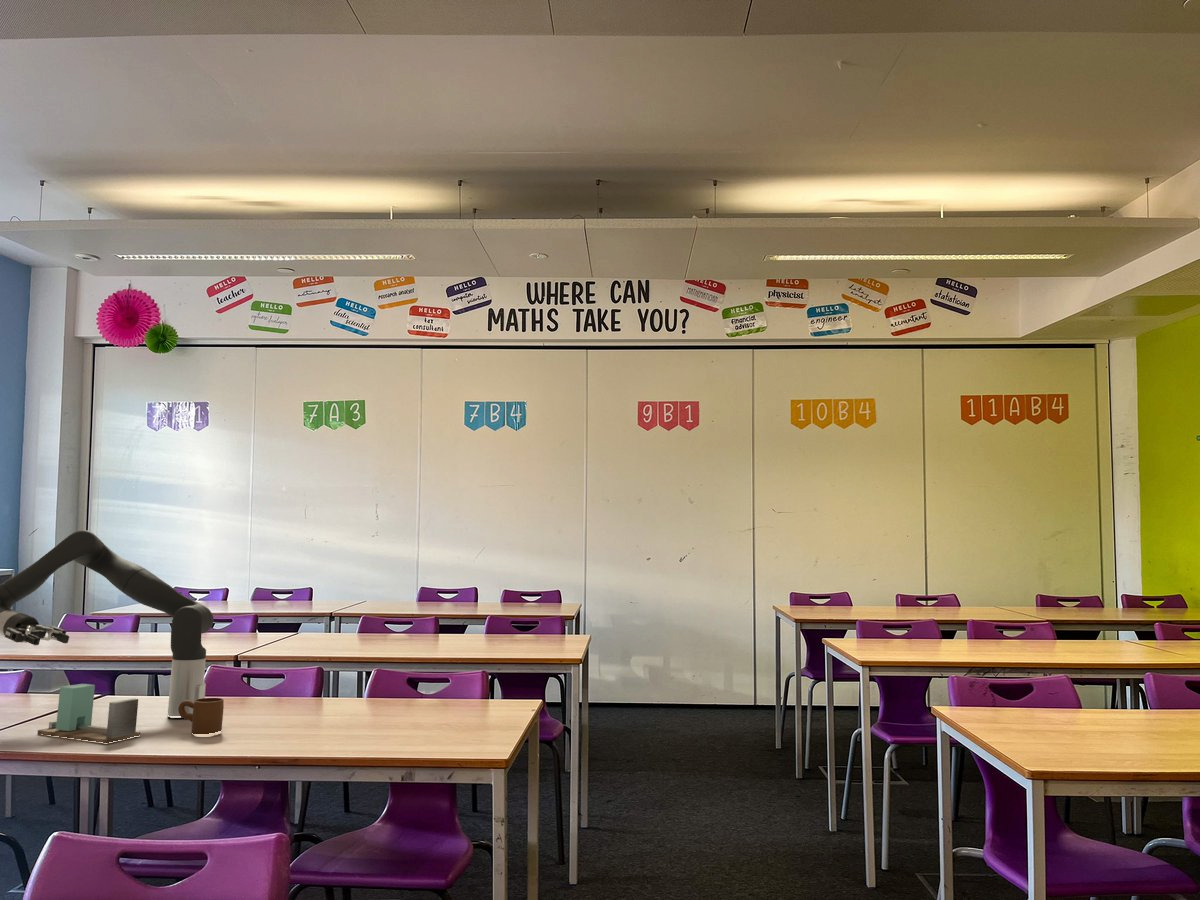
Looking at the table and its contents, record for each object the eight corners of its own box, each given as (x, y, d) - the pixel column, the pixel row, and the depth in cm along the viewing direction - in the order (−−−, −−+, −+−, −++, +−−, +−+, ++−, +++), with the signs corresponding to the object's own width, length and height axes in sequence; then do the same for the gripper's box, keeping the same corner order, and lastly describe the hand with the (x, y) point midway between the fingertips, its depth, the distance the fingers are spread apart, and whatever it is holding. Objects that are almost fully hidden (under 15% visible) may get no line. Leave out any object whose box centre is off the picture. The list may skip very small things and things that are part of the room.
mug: (169, 737, 224) (172, 701, 225) (183, 731, 231) (186, 696, 232) (213, 738, 224) (216, 702, 225) (226, 732, 231) (228, 697, 232)
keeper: (55, 729, 224) (60, 686, 225) (78, 725, 230) (82, 683, 231) (68, 731, 222) (73, 688, 223) (91, 726, 228) (95, 685, 229)
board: (37, 734, 223) (37, 730, 224) (72, 727, 233) (72, 723, 233) (106, 744, 214) (106, 739, 214) (139, 737, 223) (140, 732, 223)
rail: (43, 729, 225) (46, 695, 226) (67, 724, 231) (71, 691, 233) (111, 738, 215) (115, 703, 217) (135, 733, 222) (138, 699, 223)
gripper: (-6, 613, 233) (32, 629, 227) (43, 612, 246) (80, 626, 240) (-14, 639, 232) (24, 656, 226) (36, 636, 245) (73, 652, 239)
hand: (53, 640), depth 233 cm, fingers open, 8 cm apart
